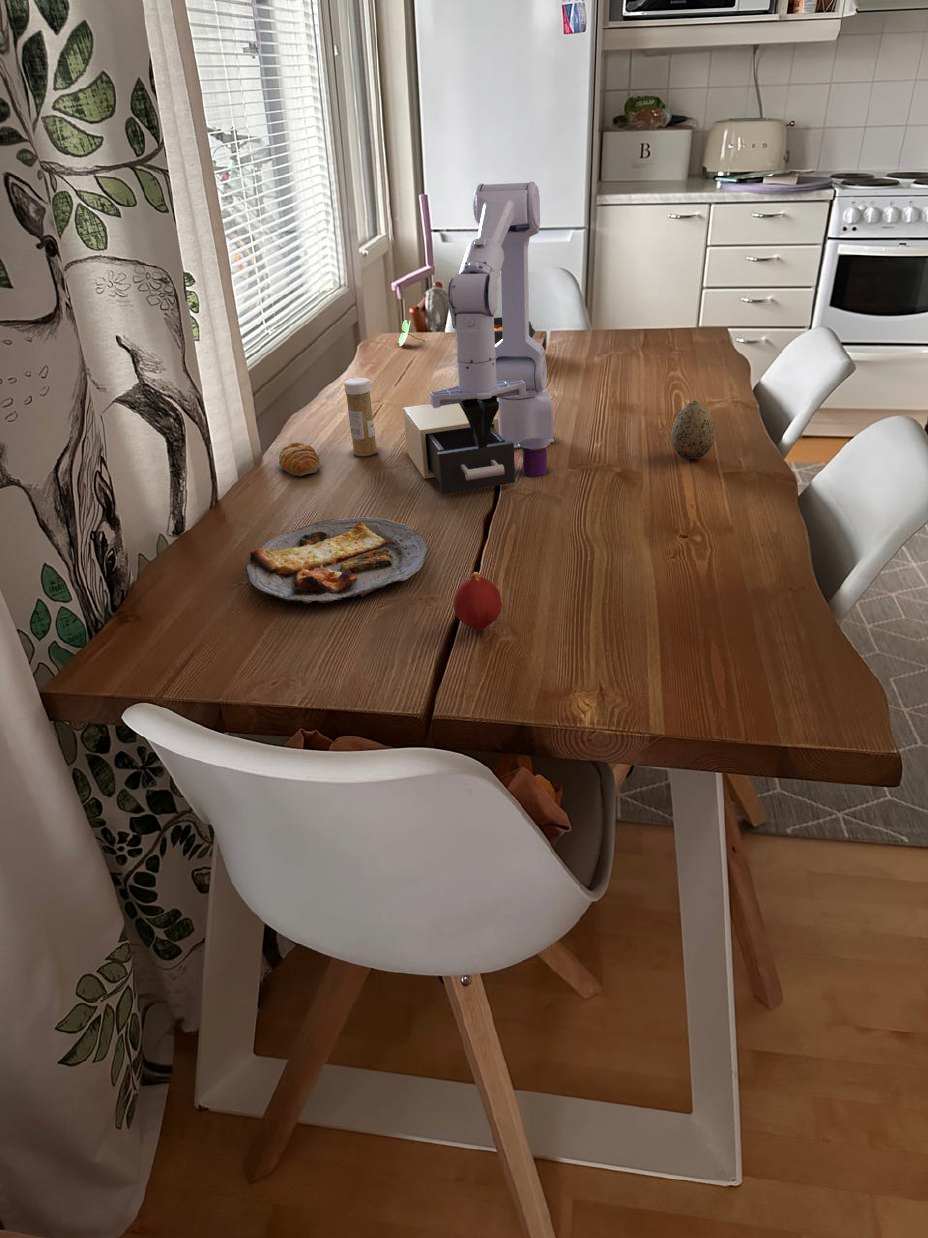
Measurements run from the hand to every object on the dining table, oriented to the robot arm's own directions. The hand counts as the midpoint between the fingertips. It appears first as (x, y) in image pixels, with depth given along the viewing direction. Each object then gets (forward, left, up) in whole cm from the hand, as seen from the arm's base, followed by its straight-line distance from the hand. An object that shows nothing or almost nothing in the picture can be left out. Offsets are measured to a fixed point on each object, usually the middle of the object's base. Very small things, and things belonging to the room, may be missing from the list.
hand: (481, 445), depth 145 cm
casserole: (-28, -80, -9) cm, 86 cm away
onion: (+12, +40, -9) cm, 42 cm away
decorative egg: (-38, -2, -9) cm, 39 cm away
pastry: (+26, -26, -9) cm, 38 cm away
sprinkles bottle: (+14, -29, -9) cm, 34 cm away
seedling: (-15, -107, -9) cm, 109 cm away
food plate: (+26, +17, -9) cm, 32 cm away
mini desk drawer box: (0, -19, -9) cm, 21 cm away
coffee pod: (-11, -7, -9) cm, 16 cm away
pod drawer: (0, -6, -8) cm, 10 cm away
